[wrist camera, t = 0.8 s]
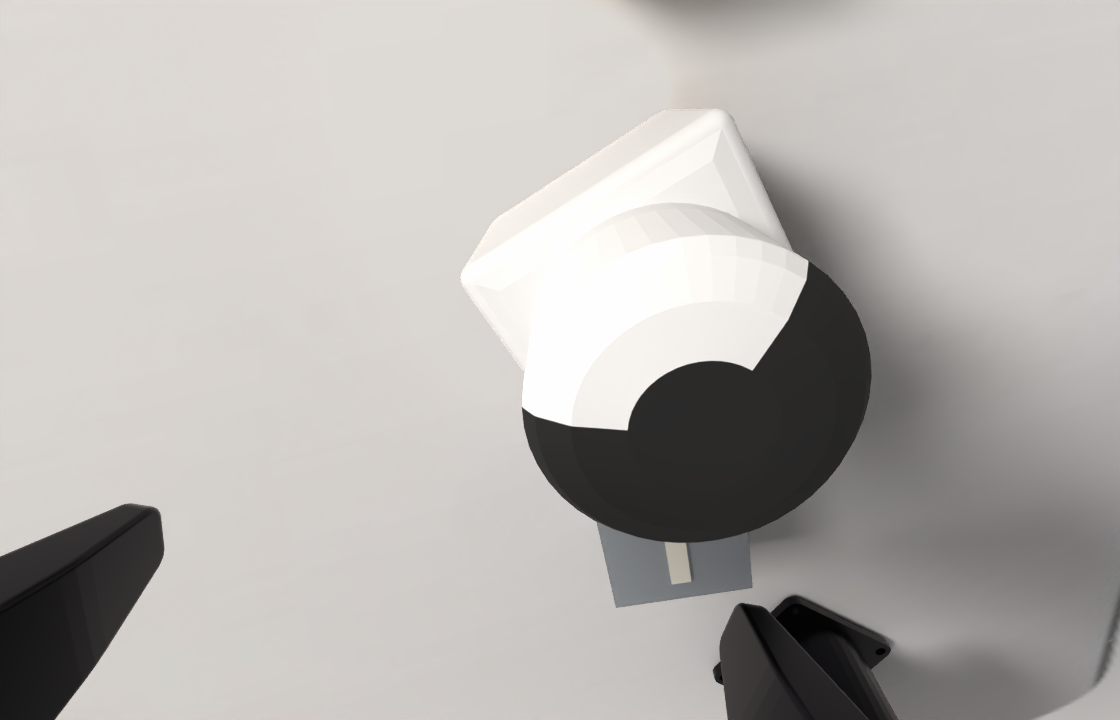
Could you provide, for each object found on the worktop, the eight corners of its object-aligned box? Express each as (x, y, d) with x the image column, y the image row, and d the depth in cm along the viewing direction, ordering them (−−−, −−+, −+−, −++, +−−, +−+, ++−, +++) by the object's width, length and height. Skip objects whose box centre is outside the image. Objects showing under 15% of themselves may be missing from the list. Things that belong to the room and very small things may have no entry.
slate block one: (706, 402, 22) (744, 479, 18) (717, 499, 24) (753, 591, 20) (585, 423, 23) (592, 504, 18) (606, 516, 25) (616, 611, 20)
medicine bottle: (757, 285, 20) (985, 488, 9) (591, 376, 22) (619, 642, 11) (669, 104, 18) (837, 95, 7) (488, 222, 19) (393, 366, 8)
